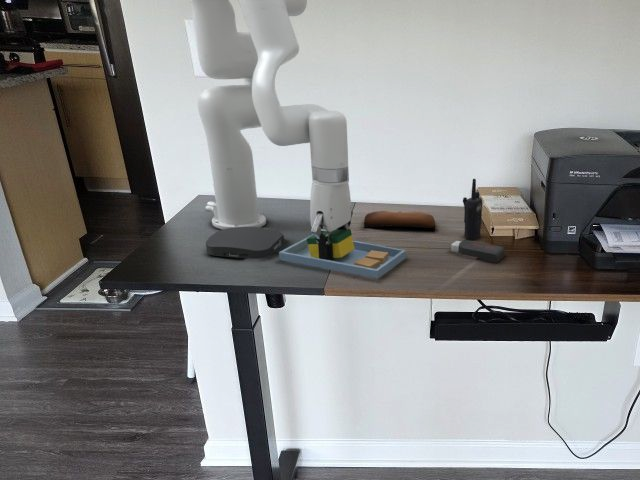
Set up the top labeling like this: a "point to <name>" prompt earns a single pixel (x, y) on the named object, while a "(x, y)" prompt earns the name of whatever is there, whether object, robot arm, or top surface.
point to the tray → (345, 258)
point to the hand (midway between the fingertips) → (334, 254)
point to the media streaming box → (245, 242)
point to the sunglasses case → (399, 219)
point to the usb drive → (479, 250)
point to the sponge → (334, 243)
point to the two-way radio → (472, 214)
